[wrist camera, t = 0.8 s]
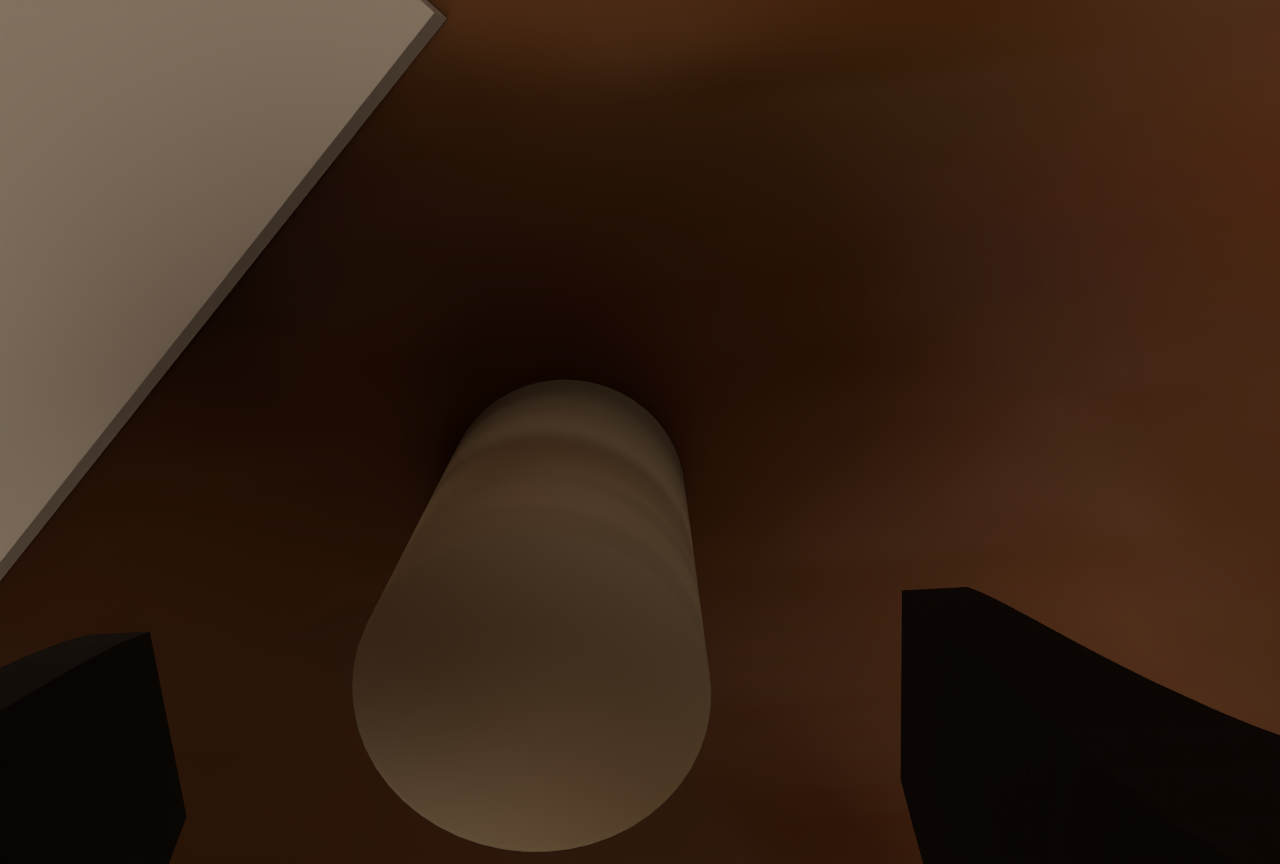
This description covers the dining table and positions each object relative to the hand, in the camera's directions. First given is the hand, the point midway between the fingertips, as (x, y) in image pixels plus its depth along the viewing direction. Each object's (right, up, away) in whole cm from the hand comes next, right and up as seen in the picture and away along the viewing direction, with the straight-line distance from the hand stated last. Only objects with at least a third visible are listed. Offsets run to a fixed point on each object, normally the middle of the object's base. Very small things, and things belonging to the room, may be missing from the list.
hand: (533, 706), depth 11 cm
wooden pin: (0, +2, +6) cm, 6 cm away
